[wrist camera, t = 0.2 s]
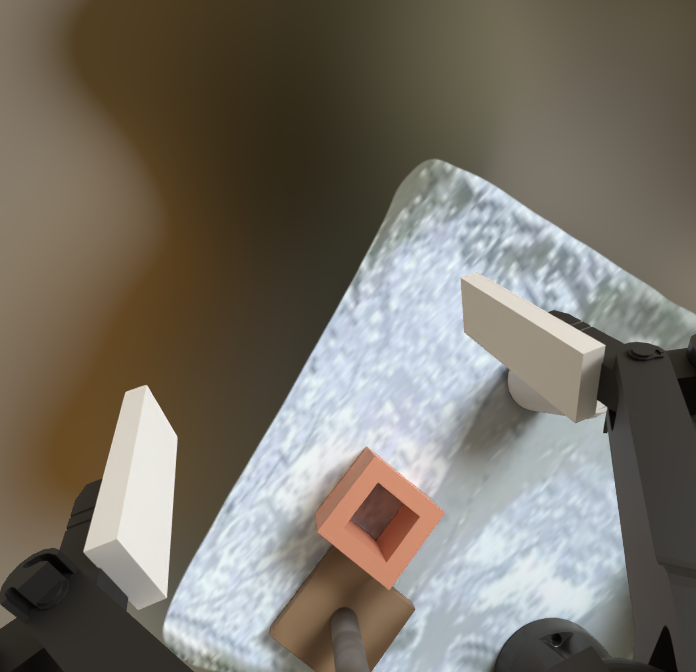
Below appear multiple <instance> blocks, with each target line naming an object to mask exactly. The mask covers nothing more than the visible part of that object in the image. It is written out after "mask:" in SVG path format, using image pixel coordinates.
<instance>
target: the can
mask: <svg viewBox="0 0 696 672" xmlns="http://www.w3.org/2000/svg"><path fill="white" fill-rule="evenodd" d="M508 387H509V392H510V394H511V395H512V397H513V399H514V400H515V401H516V402H517V403H518V404H519V405H520V406H521V407H523V408H525V409H527V410H532V411H538V412H544V413H550V414H557V415H563V416H566V415H565V414H563V413H562V412H561V411H560V410H558V409H557V408H556V407H555V406H554V405H552V404H551V403H550V402H549V401H547V400H546V399H545V398H544V397H543V396H541V395H540V394H539V393H538V392H537V391H535V390H534V389H533V388H532V387H530V386H529V385H528V384H527V383H526V382H524V381H523V380H522V379H521V378H519V377H518V376H517V375H516V374H515V373H513V372H512V371H511V370H510V371H509V374H508ZM606 411H607V407H606V406H605V405H603V404H602V403H601V402H599V401H598V400H597V407H596V413H595V415H594V416H592V417H589V418H595V417H597V416H599V415H601V414H602V413H604V412H606ZM589 418H587V419H589Z"/></svg>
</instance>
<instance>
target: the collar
mask: <svg viewBox="0 0 696 672" xmlns="http://www.w3.org/2000/svg"><path fill="white" fill-rule="evenodd" d="M377 483H379V484H381V485H382V486H383V487H384V488H386V489H387V490H388V491H389V492H390V493H392V494H393V495H394V496H395V497H397V498H398V499H399V500H400V501H401V502H403V503H404V504H403V506H402V507H401V508H400V510H399V511H398V512H397V514H396V515H395V516H394V518H393V519H392V520H391V522H390V523H389V524H388V526H387V527H386V529H385V530H384V531H383V533H382V534H381V535H380V537H379V538H378V539H377V541H376V540H375V539H374V538H373V537H371V536H370V535H369V534H368V533H366V532H365V531H364V530H363V529H362V528H360V527H359V526H358V525H357V524H355V523H354V522H353V521H352V520H350V519H351V517H352V516H353V515H354V513H355V512H356V511H357V509H358V508H359V507H360V506H361V504H362V503H363V502H364V500H365V499H366V498H367V496H368V495H369V494H370V492H371V491H372V490H373V488H374V487H375V486H376V484H377ZM444 514H445V513H444V512H443V511H442V510H441V509H440V508H439V507H438V506H437V505H436V504H435V503H434V502H433V501H432V500H431V499H430V498H429V497H428V496H427V495H425V494H424V493H423V492H422V491H421V490H419V489H418V488H417V487H416V486H414V485H413V484H412V483H411V482H410V481H408V480H407V479H406V478H405V477H403V476H402V475H401V474H400V473H399V472H397V471H396V470H395V469H394V468H392V467H391V466H390V465H389V464H387V463H386V462H385V461H384V460H383V459H381V458H380V457H379V456H378V455H376V454H375V453H374V452H373V451H372V450H370V449H369V448H368V447H366V448H365V450H364V451H363V452H362V453H361V455H360V456H359V457H358V459H357V460H356V461H355V462H354V464H353V465H352V466H351V468H350V469H349V470H348V471H347V473H346V474H345V475H344V477H343V478H342V479H341V481H340V482H339V483H338V484H337V486H336V487H335V488H334V490H333V491H332V492H331V493H330V495H329V496H328V497H327V499H326V500H325V501H324V503H323V504H322V505H321V506H320V508H319V509H318V510H317V512H316V513H315V516H316V526H317V532H318V533H319V534H320V535H321V536H323V537H324V538H325V539H326V540H328V541H329V542H330V543H331V544H333V545H334V546H335V547H336V548H338V549H339V550H340V551H341V552H342V553H344V554H345V555H346V556H347V557H349V558H350V559H351V560H352V561H354V562H355V563H356V564H357V565H359V566H360V567H361V568H362V569H364V570H365V571H366V572H367V573H369V574H370V575H371V576H372V577H373V578H375V579H376V580H377V581H378V582H380V583H381V584H382V585H383V586H385V587H386V588H387V589H388V590H390V589H391V587H392V586H393V585H394V583H395V582H396V580H397V579H398V578H399V576H400V575H401V573H402V572H403V571H404V569H405V568H406V566H407V565H408V564H409V562H410V561H411V560H412V558H413V557H414V555H415V554H416V553H417V551H418V550H419V548H420V547H421V546H422V544H423V543H424V541H425V540H426V539H427V537H428V536H429V535H430V533H431V532H432V530H433V529H434V528H435V526H436V525H437V523H438V522H439V521H440V519H441V518H442V516H443V515H444Z"/></svg>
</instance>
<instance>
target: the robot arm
mask: <svg viewBox="0 0 696 672" xmlns="http://www.w3.org/2000/svg"><path fill="white" fill-rule="evenodd" d="M461 291H462V306H463V321H464V333H466V334H467V335H468V336H469V337H471V338H472V339H473V340H474V341H475V342H477V343H478V344H479V345H480V346H482V347H483V348H484V349H485V350H486V351H488V352H489V353H490V354H491V355H493V356H494V357H495V358H496V359H497V360H499V361H500V362H501V363H502V364H504V365H505V366H506V367H507V368H508V369H510V370H511V371H512V372H513V373H515V374H516V375H517V376H518V377H519V378H521V379H522V380H523V381H524V382H526V383H527V384H528V385H529V386H530V387H532V388H533V389H534V390H535V391H537V392H538V393H539V394H540V395H541V396H543V397H544V398H545V399H546V400H547V401H549V402H550V403H551V404H552V405H554V406H555V407H556V408H557V409H558V410H560V411H561V412H562V413H563V414H565V415H566V416H567V417H568V418H569V419H571V420H572V421H573V422H574V423H578V422H580V421H582V420H585V419H587V418H589V417H592V416H594V415H595V413H596V407H597V400H598V401H599V402H601V403H602V404H603V405H605V406H606V407H607V412H606V418H605V424H604V430H603V433H607V432H608V435H609V442H610V450H611V457H612V465H613V472H614V479H615V487H616V494H617V502H618V509H619V517H620V524H621V531H622V539H623V546H624V554H625V561H626V568H627V576H628V583H629V591H630V598H631V606H632V613H633V620H634V661H633V660H627V659H621V658H611V657H610V655H609V654H608V652H607V651H606V650H605V649H604V647H603V646H602V645H601V644H600V643H599V642H598V641H597V640H596V639H595V638H594V637H593V636H591V635H590V634H589V633H588V632H587V631H586V630H585V629H583V628H582V627H580V626H579V625H577V624H575V623H573V622H571V621H568V620H565V619H559V618H545V619H540V620H537V621H534V622H531V623H529V624H527V625H525V626H524V627H522V628H521V629H520V630H518V631H517V632H516V633H515V634H514V635H513V636H512V637H511V638H510V639H509V640H508V642H507V643H506V645H505V646H504V648H503V649H502V651H501V653H500V655H499V658H498V660H497V663H496V667H495V671H494V672H696V334H695V335H693V336H691V339H690V342H689V346H688V348H684V349H676V350H669V351H665V350H663V349H661V348H660V347H658V346H655V345H652V344H649V343H642V342H632V343H626V344H623V343H622V342H620V341H618V340H616V339H614V338H612V337H610V336H609V335H607V334H605V333H603V332H601V331H599V330H597V329H596V328H594V327H590V325H588V324H586V323H584V322H581V320H579V319H577V318H575V317H573V316H571V315H570V314H567V313H563V312H559V311H555V310H553V311H550V312H546V311H544V310H542V309H541V308H539V307H537V306H535V305H534V304H532V303H530V302H528V301H526V300H525V299H523V298H521V297H519V296H518V295H516V294H514V293H512V292H511V291H509V290H507V289H505V288H504V287H502V286H500V285H498V284H496V283H495V282H493V281H491V280H489V279H488V278H486V277H484V276H482V275H481V274H479V273H477V272H476V273H473V274H470V275H467V276H464V277H461ZM176 451H177V436H176V434H175V433H174V431H173V429H172V427H171V426H170V424H169V422H168V420H167V419H166V417H165V415H164V414H163V412H162V410H161V408H160V407H159V405H158V403H157V402H156V400H155V398H154V397H153V395H152V393H151V391H150V390H149V388H148V387H147V385H145V386H142V387H139V388H136V389H133V390H130V391H127V392H126V393H125V396H124V400H123V404H122V407H121V411H120V415H119V419H118V423H117V426H116V430H115V434H114V438H113V442H112V445H111V450H110V453H109V457H108V461H107V464H106V468H105V472H104V476H103V479H100V480H97V481H95V482H92V483H89V484H87V485H86V486H85V487H84V489H83V490H82V492H81V493H80V495H79V496H78V497H77V499H76V500H75V503H74V506H73V509H72V513H71V518H70V519H69V522H68V525H67V531H66V532H65V534H64V538H63V541H62V544H61V547H60V550H58V549H55V548H50V549H45V550H42V551H40V552H37V553H35V554H33V555H31V556H30V557H29V558H27V559H26V560H25V561H23V562H22V563H20V564H19V565H18V567H16V569H15V570H14V571H13V572H12V573H11V574H10V575H9V576H8V578H7V580H6V581H5V582H4V584H3V586H2V588H1V591H0V604H1V605H2V606H3V607H5V608H6V609H7V610H8V611H9V612H11V613H12V614H13V615H15V616H16V617H17V618H16V619H14V620H13V621H11V622H10V623H8V624H7V625H5V626H4V627H3V628H1V629H0V672H193V671H192V670H191V669H190V668H189V667H188V666H187V665H186V664H184V663H183V662H182V661H181V660H180V659H179V658H178V657H177V656H176V655H174V654H173V653H172V652H171V651H170V650H169V649H168V648H167V647H166V646H164V645H163V644H162V643H161V642H160V641H159V640H158V639H157V638H155V637H154V636H153V635H152V634H151V633H150V632H149V631H148V630H147V629H145V628H144V627H143V626H142V625H141V624H140V623H139V622H138V621H137V620H135V619H134V618H133V617H132V616H131V615H130V614H129V613H128V612H127V611H126V610H127V602H128V600H129V601H130V602H131V603H132V604H133V605H134V606H135V607H136V608H137V610H139V609H141V608H144V607H146V606H149V605H151V604H154V603H156V602H158V601H160V600H163V599H165V598H167V586H168V571H169V556H170V541H171V526H172V511H173V496H174V480H175V465H176Z"/></svg>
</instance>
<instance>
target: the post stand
mask: <svg viewBox="0 0 696 672" xmlns="http://www.w3.org/2000/svg"><path fill="white" fill-rule="evenodd" d="M414 611H415V608H414V606H413V604H412V602H411V601H410V600H408V599H407V598H406V597H405V596H403V595H402V594H401V593H400V592H398V591H397V590H396V589H395V588H394V587H391V589H390V590H388V589H387V588H386V587H385V586H383V585H382V584H381V583H380V582H378V581H377V580H376V579H375V578H373V577H372V576H371V575H370V574H369V573H367V572H366V571H365V570H364V569H362V568H361V567H360V566H359V565H357V564H356V563H355V562H354V561H352V560H351V559H350V558H349V557H347V556H346V555H345V554H344V553H342V552H341V551H340V550H339V549H338V548H336V547H335V546H334V545H332V546H331V548H330V549H329V550H328V552H327V553H326V554H325V555H324V557H323V558H322V559H321V561H320V562H319V563H318V565H317V566H316V567H315V569H314V570H313V571H312V573H311V574H310V575H309V577H308V578H307V579H306V581H305V582H304V583H303V585H302V586H301V587H300V589H299V590H298V591H297V593H296V594H295V595H294V596H293V598H292V599H291V600H290V602H289V603H288V604H287V606H286V607H285V608H284V610H283V611H282V612H281V614H280V615H279V616H278V618H277V619H276V620H275V622H274V623H273V624H272V626H271V627H270V636H272V637H273V638H274V639H275V640H277V641H278V642H279V643H280V644H282V645H283V646H284V647H285V648H287V649H288V650H289V651H290V652H292V653H293V654H294V655H296V656H297V657H298V658H299V659H301V660H302V661H303V662H304V663H306V664H307V665H308V666H309V667H311V668H312V669H313V670H314V671H316V672H372V670H373V669H374V667H375V666H376V664H377V663H378V662H379V660H380V659H381V657H382V656H383V655H384V653H385V652H386V650H387V649H388V647H389V646H390V645H391V643H392V642H393V640H394V639H395V637H396V636H397V635H398V633H399V632H400V630H401V629H402V628H403V626H404V625H405V623H406V622H407V620H408V619H409V618H410V616H411V615H412V613H413V612H414Z"/></svg>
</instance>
